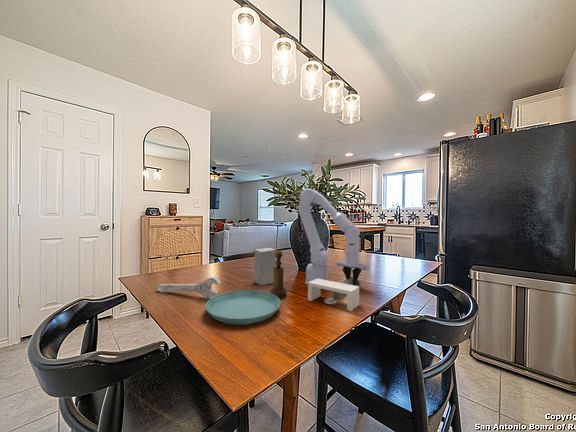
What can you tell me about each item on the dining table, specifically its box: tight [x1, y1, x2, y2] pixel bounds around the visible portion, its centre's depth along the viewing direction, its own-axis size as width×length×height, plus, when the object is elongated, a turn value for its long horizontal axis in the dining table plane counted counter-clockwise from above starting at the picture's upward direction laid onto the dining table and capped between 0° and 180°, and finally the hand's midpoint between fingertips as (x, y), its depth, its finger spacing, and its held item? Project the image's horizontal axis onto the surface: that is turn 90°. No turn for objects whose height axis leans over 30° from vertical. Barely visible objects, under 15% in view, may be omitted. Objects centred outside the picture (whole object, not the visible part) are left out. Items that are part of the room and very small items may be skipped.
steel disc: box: [323, 297, 337, 305], centre depth 88 cm, size 4×4×1 cm
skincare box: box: [254, 247, 277, 286], centre depth 111 cm, size 8×7×16 cm
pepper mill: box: [269, 249, 288, 300], centre depth 94 cm, size 7×6×18 cm
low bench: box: [307, 278, 360, 312], centre depth 88 cm, size 17×7×7 cm, turn 53°
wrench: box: [156, 276, 222, 300], centre depth 94 cm, size 8×2×30 cm
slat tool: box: [333, 275, 362, 300], centre depth 100 cm, size 5×20×4 cm, turn 144°
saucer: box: [205, 289, 281, 326], centre depth 79 cm, size 24×24×3 cm
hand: (351, 284), depth 105 cm, fingers closed on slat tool, 2 cm apart
